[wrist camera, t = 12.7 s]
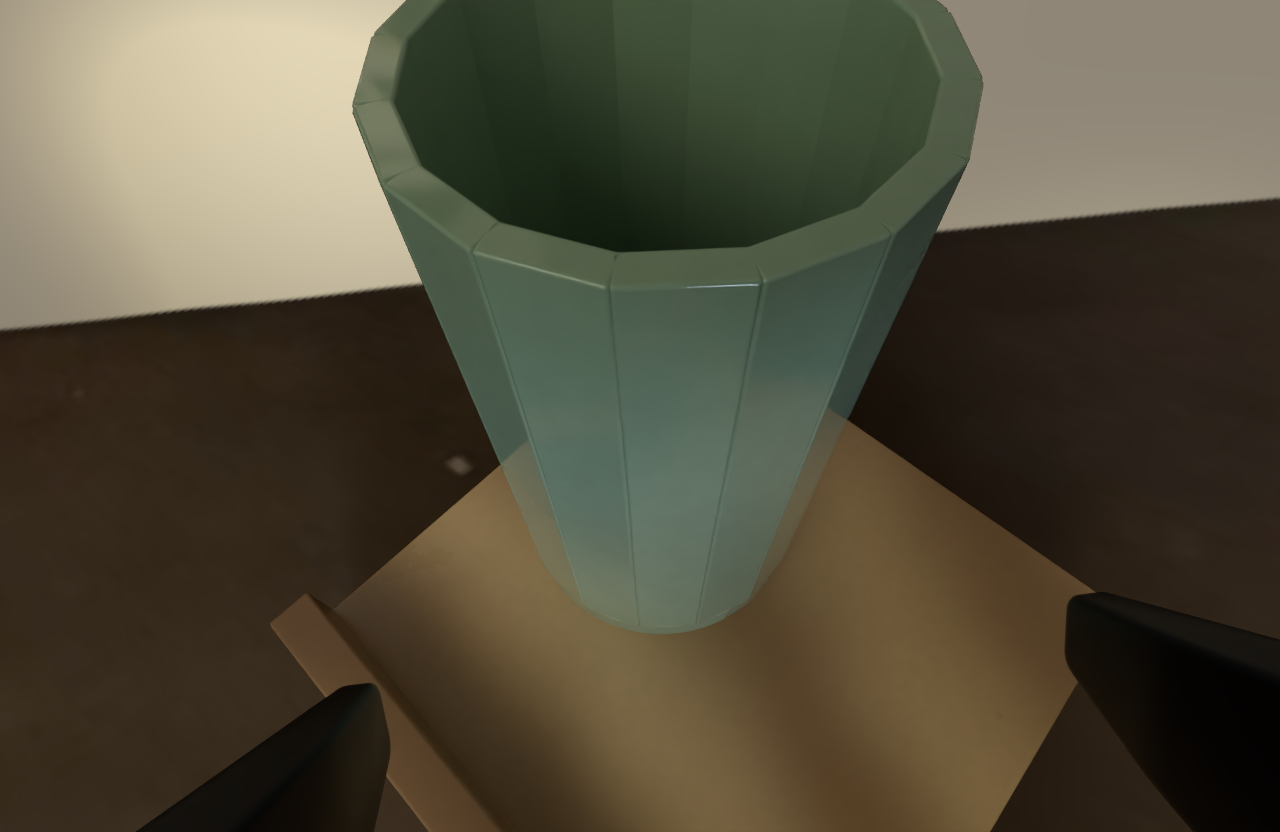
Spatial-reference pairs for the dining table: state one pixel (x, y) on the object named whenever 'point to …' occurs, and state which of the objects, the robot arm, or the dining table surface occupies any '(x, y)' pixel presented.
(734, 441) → the cup
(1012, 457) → the dining table surface
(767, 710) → the shelf
